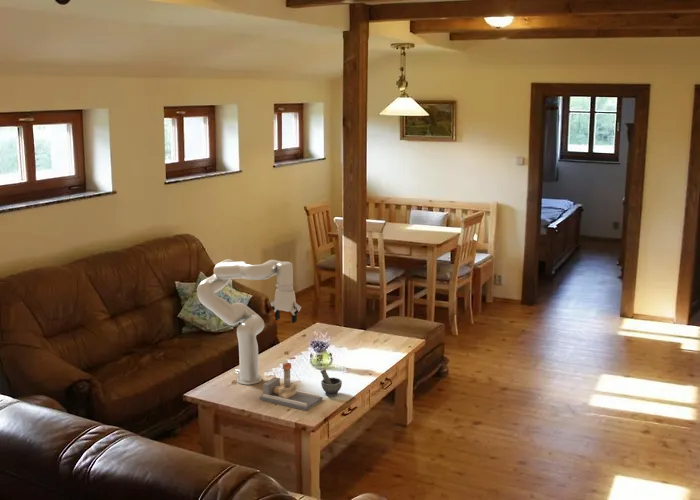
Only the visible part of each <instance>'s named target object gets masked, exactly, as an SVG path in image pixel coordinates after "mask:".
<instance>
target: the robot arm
mask: <svg viewBox="0 0 700 500" xmlns="http://www.w3.org/2000/svg"><path fill="white" fill-rule="evenodd" d="M293 274H294V270H293V263H292V262H291V261H280V260H276V259H269V260H266V261H265V262H263V263H262V264H248V263H247V262H246V261H244V260H240V261H235V260H233V259H231V258H228V259H227V258H226V259H224V260H222V261H220V262H218V263H216V264H215V266H214V267H213V274H212V275H211V276H208V277H207V278H205V279H203V280H201V282H199V283H198V285H197V289H196V296H197V298H198V300H199V302H200V303H201V304H202V305H203V306H205V308H207V309H208V310H209V311H211V312H212V313H214V315H215V316H217V317H218V319H221V320H222V321H223V322H224V323H225V324H226V325H229V326H235V325H237V324H238V326H237V328H236V337H237V341H238V357H239V360H238V361H239V369H237V368H236V369H235V370H234V372H233V374H234V375H237V378H236V381H237V383H238V384H241V385H245V386H246V385H256V384H258V383H261V382H262V380H263V376H262V375H260V372H259V368H260V367H259V345H258V344H259V343H258V341H257V335H259V334H260V333H262V331H263V330H264V328H265V322H264V319H263V318H262V317H261V316H260V315H259V314H258V313H256V312H255V311H254V310H253V309H252V308H251V307H249V306H248V305H246V304H245V303H243V302H234V303H232V304H231V303H229V302H228V301H227V300H225V299H224V298H223V297H221V296H219V295H217V294H216V293H218V292H220V291H222V290H223V289H224V288H225V286H227V285H228V283H229V282H230V281H231V280H235V279H236V280H237V279H240V280H241V279H244V280H249V281H262V280H269V279H270V278H272V277H274V276H276V278H277V279H276V280H277V283H275V287H276V289H275V292H274V300H273V301H270V303H269V304H270V306H271V309H272V311H273V312H274V320H275V321H279V319H280V318H281V315H280V314H281V313H280V311H282V312H290V313H291V314H292V315H291V323H292V324H295V323H297V321H298V320H297V319H298V317H297V316H298V314H299V313H300V311H301V309H302V306H301V305H299V304H298V303H297V302H296V301H297V300H296V294H295V290H294V279H293V278H294V276H293Z"/></svg>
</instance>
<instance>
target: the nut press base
mask: <svg viewBox="0 0 700 500" xmlns="http://www.w3.org/2000/svg"><path fill="white" fill-rule="evenodd" d="M280 387H281V379H280V377H276V376H274V377H272V378H270V379H269V380H267V381H266V382H264V383H263V384H262V395H261V396H259V400H260V401H263V402H266V403H272V404H276V405H279V406H284V407H289V408H292V409H297V410H301V411H304V412H305V411H306V412H307V411H309V410H310V409H312V408H313V407H314V406H316V405H317V404H319V403H321V402H322V401H323V397H322V396H320V395H319V394H315V393H311V392H307V391H301V390H297V389H296V394H295V395H293V396H291V397H290V398H288V399H285V398H281V397H279V388H280Z"/></svg>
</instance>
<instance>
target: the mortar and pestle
mask: <svg viewBox="0 0 700 500" xmlns="http://www.w3.org/2000/svg"><path fill="white" fill-rule="evenodd" d="M320 373H321V376H322V380H321V381H320V383H321V388H322V389H323V391H324V395H325V396H326V397H328V398H335V397H337V396H339V391H340V390H341V388H342V384H343V381H342V379H340V378H337V377H330V376H329V374H328V373H327V369H325V368H324V369H321V370H320Z"/></svg>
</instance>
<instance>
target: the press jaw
mask: <svg viewBox="0 0 700 500" xmlns="http://www.w3.org/2000/svg"><path fill="white" fill-rule="evenodd" d="M282 369H283V385H281V386H280V388H279V397H281V398H285V399H288V398H290V397H291V396H293V395H295V394H296V390H297V384H296V383H294V382H291V369H292V363H291V362H283V363H282Z"/></svg>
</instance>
